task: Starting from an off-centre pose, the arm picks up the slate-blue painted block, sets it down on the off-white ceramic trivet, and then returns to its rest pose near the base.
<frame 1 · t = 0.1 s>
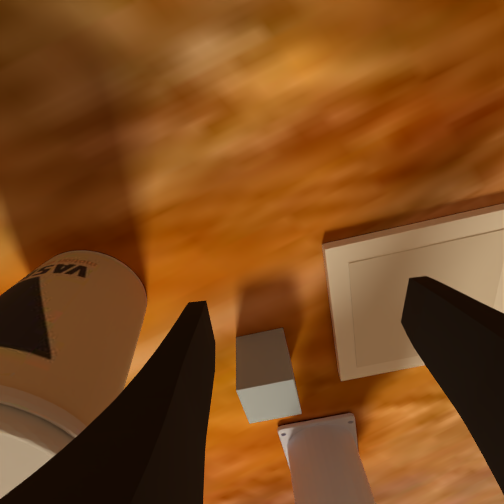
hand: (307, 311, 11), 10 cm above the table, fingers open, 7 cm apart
block: (264, 348, 26), on the table
trivet: (417, 300, 24), on the table
coffee cup: (95, 293, 22), on the table
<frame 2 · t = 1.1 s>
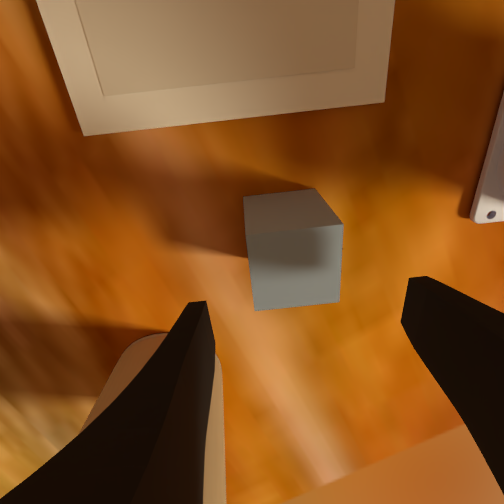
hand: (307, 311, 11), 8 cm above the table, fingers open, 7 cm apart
block: (280, 225, 17), on the table
coffee cup: (172, 367, 23), on the table
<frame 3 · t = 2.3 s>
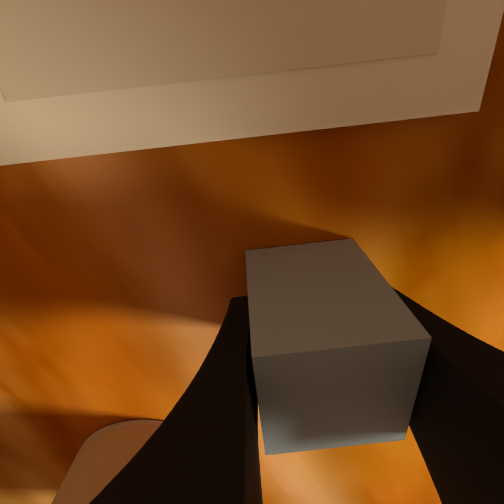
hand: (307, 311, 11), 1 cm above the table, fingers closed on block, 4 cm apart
block: (299, 288, 12), on the table, touching gripper
coffee cup: (151, 454, 17), on the table
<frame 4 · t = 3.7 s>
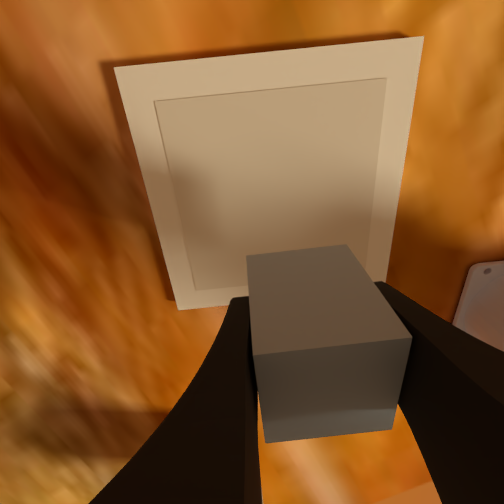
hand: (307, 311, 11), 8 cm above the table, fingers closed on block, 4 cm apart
block: (297, 290, 13), point 6 cm above the table, touching gripper
trivet: (274, 196, 17), on the table
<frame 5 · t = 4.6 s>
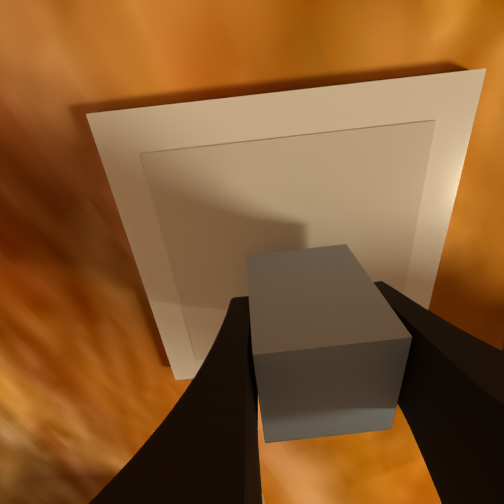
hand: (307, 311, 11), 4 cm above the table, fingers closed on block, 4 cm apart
block: (297, 290, 13), point 2 cm above the table, touching gripper
trivet: (289, 254, 14), on the table
when the fingers open (3 cm above the table, at t = 5.2 s): block stays where it is, resting on trivet.
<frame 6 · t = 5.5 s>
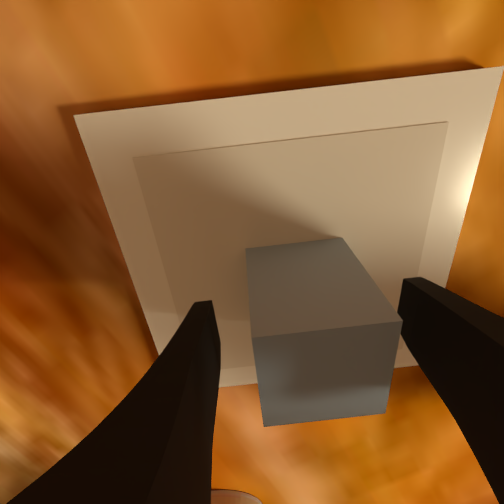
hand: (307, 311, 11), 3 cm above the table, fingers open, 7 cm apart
block: (295, 282, 13), point 1 cm above the table, touching trivet
trivet: (291, 262, 14), on the table
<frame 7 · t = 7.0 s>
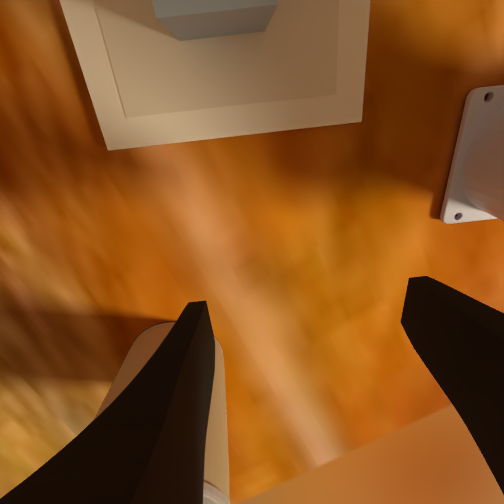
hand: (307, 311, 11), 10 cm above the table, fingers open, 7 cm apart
coffee cup: (178, 354, 25), on the table
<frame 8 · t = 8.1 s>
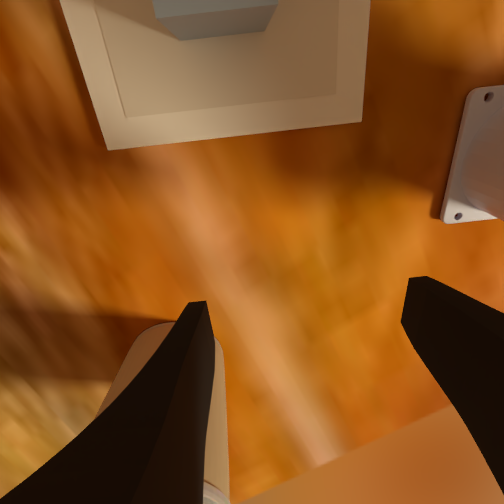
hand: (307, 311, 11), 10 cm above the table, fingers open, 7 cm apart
coffee cup: (178, 354, 25), on the table
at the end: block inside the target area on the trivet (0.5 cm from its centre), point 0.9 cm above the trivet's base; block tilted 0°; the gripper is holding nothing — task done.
